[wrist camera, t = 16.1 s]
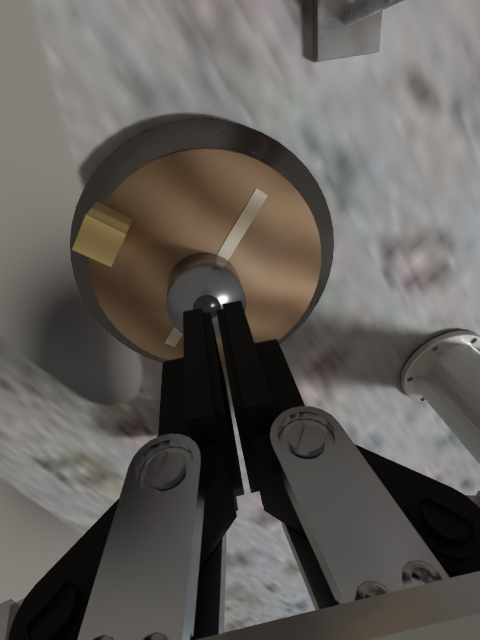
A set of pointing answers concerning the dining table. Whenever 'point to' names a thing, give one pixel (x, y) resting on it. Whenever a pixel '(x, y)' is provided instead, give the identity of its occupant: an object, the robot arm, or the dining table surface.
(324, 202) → the turntable base
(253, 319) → the platter
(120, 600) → the robot arm
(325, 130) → the dining table surface
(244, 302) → the cover
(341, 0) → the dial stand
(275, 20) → the dining table surface
